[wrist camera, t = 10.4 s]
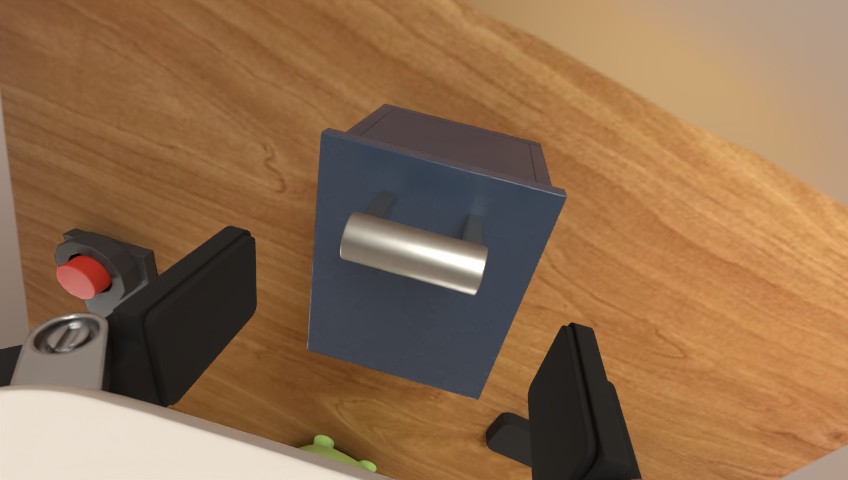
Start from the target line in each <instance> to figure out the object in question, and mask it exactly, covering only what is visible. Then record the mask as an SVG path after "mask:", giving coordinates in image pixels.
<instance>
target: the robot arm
mask: <svg viewBox="0 0 848 480" xmlns="http://www.w3.org/2000/svg"><path fill="white" fill-rule="evenodd" d="M256 306H257V294H256V249H255V239H254V237H251V234H250V232H249V231H248V230H244V229H241V228H237V227H234V226H227V227H225V228H224V229H223V230H221V231H220V232H219V233H217V234H216V235H214V236H213V237H212V238H210V239H209V240H208V241H206V242H205V243H203V244H202V245H201V246H199V247H198V248H197V249H195V250H194V251H192V252H191V253H190V254H188V255H187V256H186V257H184V258H183V259H181V260H180V261H179V262H177V263H176V264H175V265H173V266H172V267H170V268H169V269H168V270H166V271H165V272H164V273H162V274H161V275H159V276H158V277H157V278H155V279H154V280H153V281H151V282H150V283H148V284H147V285H146V286H144V287H143V288H142V289H140V290H139V291H137V292H136V293H135V294H133V295H132V296H131V297H129V298H128V299H126V300H125V301H124V302H122V303H121V304H120V305H118V306H117V307H115V308H114V309H113V312H112V313H111V314H109V315H108V316H107V317H105V318H104V317H103V316H102V315H99V314H96V313H92V312H73V313H68V314H64V315H60V316H57V317H54V318H52V319H49V320H47V321H45V322H43V323H42V324H40V325H38V326H37V327H35V328H34V329H33V330H32V331H31V332H30V333H29V334H28V336H27V337H26V339H25V341H24V343H23V345H19V346H14V347H9V348H5V349H0V480H396V479H393V478H390V477H387V476H384V475H381V474H377V473H374V472H371V471H368V470H365V469H362V468H358V467H355V466H352V465H349V464H346V463H343V462H339V461H336V460H333V459H330V458H327V457H324V456H320V455H317V454H314V453H311V452H308V451H305V450H301V449H298V448H295V447H292V446H289V445H285V444H282V443H279V442H276V441H273V440H269V439H266V438H263V437H260V436H257V435H253V434H250V433H247V432H244V431H240V430H237V429H234V428H231V427H227V426H224V425H221V424H218V423H214V422H211V421H208V420H205V419H201V418H198V417H195V416H192V415H189V414H185V413H182V412H179V411H175V410H172V409H168V408H167V406H168V405H174V404H176V403H177V402H178V401H179V400H180V399H181V398H182V396H183V395H184V394H185V393H186V392H187V391H188V390H189V388H190V387H191V386H192V385H193V384H194V383H195V381H196V380H197V379H198V378H199V377H200V376H201V375H202V373H203V372H204V371H205V370H206V369H207V368H208V367H209V365H210V364H211V363H212V362H213V361H214V360H215V358H216V357H217V356H218V355H219V354H220V353H221V352H222V350H223V349H224V348H225V347H226V346H227V345H228V344H229V342H230V341H231V340H232V339H233V338H234V337H235V335H236V334H237V333H238V332H239V331H240V330H241V329H242V327H243V326H244V325H245V324H246V323H247V322H248V320H249V319H250V318H251V317H252V316H253V314H254V312H255V310H256ZM528 409H529V427H530V446H531V464H532V480H642V478H641V474H640V471H639V468H638V464H637V461H636V457H635V454H634V451H633V447H632V444H631V440H630V437H629V434H628V430H627V427H626V423H625V420H624V417H623V413H622V410H621V406H620V403H619V400H618V396H617V393H616V390H615V387H614V385H613V384H612V383H611V382H609V381H607V377H606V373H605V370H604V366H603V363H602V359H601V355H600V352H599V348H598V345H597V341H596V338H595V334H594V331H593V329H592V328H590V327H587V326H583V325H580V324H576V323H570V324H569V325H568V326H564V325H563V326H562V327H561V328H560V330H559V332H558V334H557V336H556V338H555V340H554V341H553V343H552V345H551V347H550V349H549V351H548V353H547V355H546V357H545V359H544V360H543V362H542V364H541V366H540V368H539V370H538V372H537V374H536V376H535V378H534V379H533V381H532V383H531V385H530V388H529V392H528Z"/></svg>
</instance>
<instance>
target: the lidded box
mask: <svg viewBox="0 0 848 480" xmlns="http://www.w3.org/2000/svg"><path fill="white" fill-rule="evenodd" d="M346 133H350V134H353V135H357V136H361V137H365V138H369V139H373V140H376V141H380V142H384V143H388V144H392V145H396V146H399V147H403V148H407V149H411V150H415V151H418V152H422V153H426V154H430V155H434V156H438V157H441V158H445V159H449V160H453V161H457V162H461V163H464V164H468V165H472V166H476V167H480V168H484V169H487V170H491V171H495V172H499V173H503V174H507V175H510V176H514V177H518V178H522V179H526V180H529V181H533V182H537V183H541V184H545V185H549V186H552V184H551V181H550V177H549V173H548V170H547V166H546V163H545V159H544V155H543V152H542V148H541V144H540V143H536V142H532V141H528V140H524V139H520V138H517V137H513V136H509V135H505V134H501V133H497V132H493V131H489V130H485V129H481V128H477V127H474V126H470V125H466V124H462V123H458V122H454V121H450V120H446V119H442V118H438V117H434V116H431V115H427V114H423V113H419V112H415V111H411V110H407V109H403V108H399V107H395V106H391V105H388V104H384V105H383V106H382V107H380V108H379V109H377V110H376V111H375V112H373V113H372V114H370V115H369V116H368V117H366V118H365V119H363V120H362V121H361V122H359V123H358V124H356V125H355V126H354V127H352V128H351V129H350V130H348V131H347V132H346Z"/></svg>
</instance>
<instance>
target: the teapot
mask: <svg viewBox="0 0 848 480" xmlns="http://www.w3.org/2000/svg"><path fill="white" fill-rule="evenodd" d="M333 447H334V442H333V440H332V439H331V438H329V437H327V436H324V435H317V436H315V438H314V445H306V446H303V447H300V448H298V449H301V450H305V451H308V452H311V453H314V454H317V455H320V456H324V457H327V458H330V459H333V460H336V461H339V462H343V463H346V464H349V465H352V466H355V467H358V468H362V469H365V470H368V471H371V472H375V471H376V466H375V465H374V464H373V463H371V462H369V461H366V460H360V461H358V462H357V461H356V460H354V459H353V458H351V457H349V456H347V455H345V454H343V453H341V452H339V451H337V450H335V449H333Z"/></svg>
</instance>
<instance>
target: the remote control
mask: <svg viewBox="0 0 848 480" xmlns="http://www.w3.org/2000/svg"><path fill="white" fill-rule="evenodd" d="M486 440H487V446H488V448H489V449H491V450H492V451H494V452H497V453H499V454H502V455H504V456H506V457H509V458H511V459H513V460H516V461H518V462H520V463H523V464H525V465H527V466H530V467H532V464H531V446H530V427H529V420H527V419H524V418H522V417H520V416H517V415H515V414H512V413H503V414H502V415H500V416H499V417H498V419H497V420H496V421H495V422H494V423H493V424H492V426H491V427H490V428H489V429H488V430H487V432H486Z"/></svg>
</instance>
